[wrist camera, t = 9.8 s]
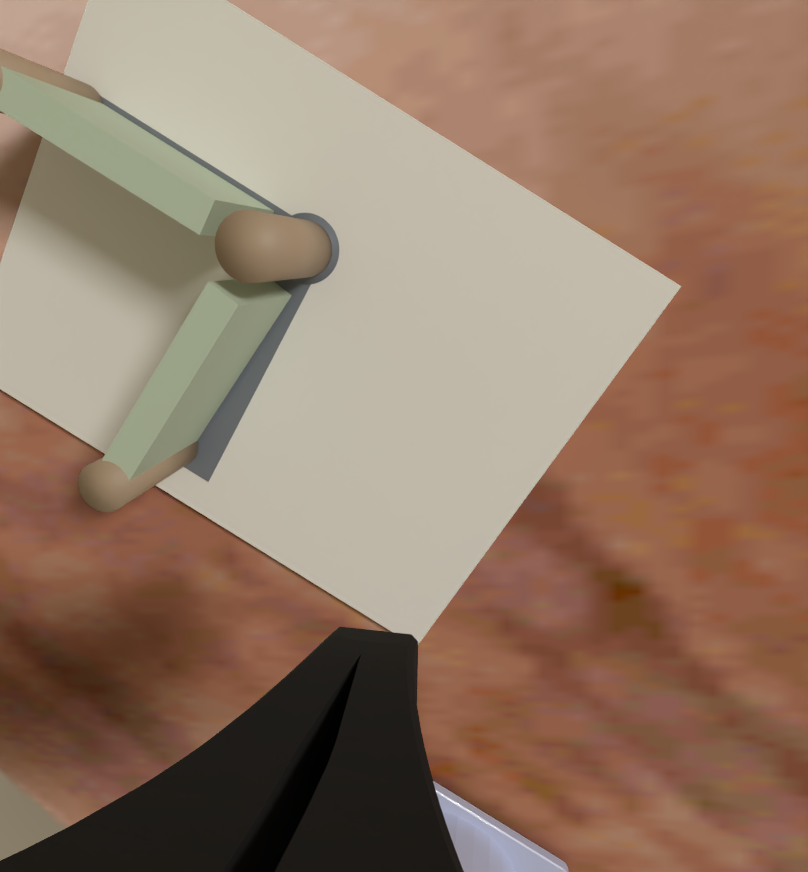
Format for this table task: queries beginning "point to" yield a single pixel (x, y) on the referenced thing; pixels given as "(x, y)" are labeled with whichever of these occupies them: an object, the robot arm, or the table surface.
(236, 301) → the fence panel
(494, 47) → the table surface
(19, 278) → the card
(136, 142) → the fence fixed
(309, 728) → the robot arm
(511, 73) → the table surface
